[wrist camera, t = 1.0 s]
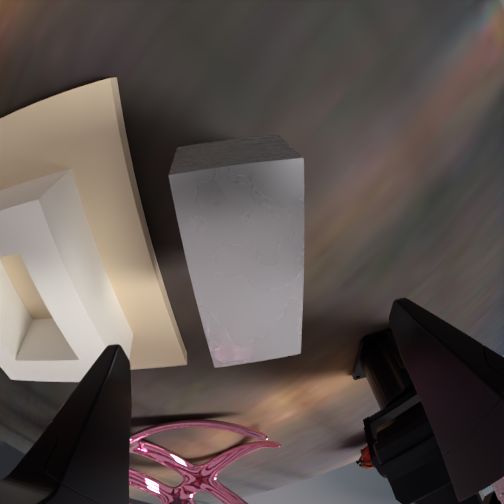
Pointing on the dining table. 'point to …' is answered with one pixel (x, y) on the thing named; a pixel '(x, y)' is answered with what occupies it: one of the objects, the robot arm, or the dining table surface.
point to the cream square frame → (76, 243)
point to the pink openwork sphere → (194, 476)
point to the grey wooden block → (243, 244)
